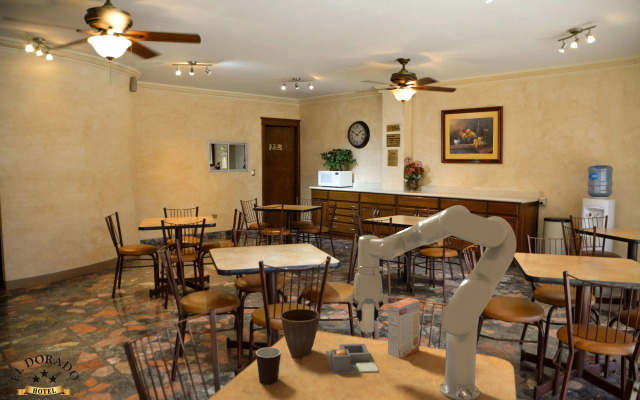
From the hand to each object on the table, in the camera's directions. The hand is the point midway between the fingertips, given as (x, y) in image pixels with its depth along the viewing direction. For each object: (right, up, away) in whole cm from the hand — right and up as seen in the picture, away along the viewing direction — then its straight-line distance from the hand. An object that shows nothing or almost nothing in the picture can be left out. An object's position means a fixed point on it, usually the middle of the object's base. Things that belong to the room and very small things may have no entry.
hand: (367, 319), depth 167 cm
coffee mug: (-34, -19, -5) cm, 40 cm away
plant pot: (-25, -18, +15) cm, 34 cm away
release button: (-10, -16, +1) cm, 19 cm away
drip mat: (0, -19, +1) cm, 19 cm away
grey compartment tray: (-6, -19, +7) cm, 21 cm away
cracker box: (+16, -18, +17) cm, 30 cm away
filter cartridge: (0, -4, 0) cm, 4 cm away
